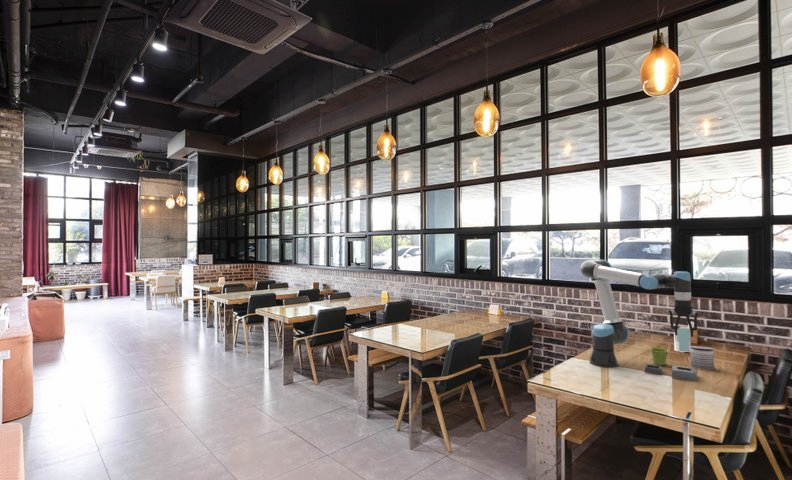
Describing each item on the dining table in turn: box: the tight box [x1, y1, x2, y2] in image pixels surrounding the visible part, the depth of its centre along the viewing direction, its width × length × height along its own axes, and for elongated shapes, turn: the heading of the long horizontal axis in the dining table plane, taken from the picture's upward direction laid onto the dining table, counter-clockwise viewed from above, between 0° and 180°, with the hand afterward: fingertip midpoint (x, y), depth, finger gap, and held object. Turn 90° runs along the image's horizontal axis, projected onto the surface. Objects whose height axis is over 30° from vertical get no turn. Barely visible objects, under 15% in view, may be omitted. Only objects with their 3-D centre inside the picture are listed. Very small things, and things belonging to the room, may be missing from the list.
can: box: [689, 345, 715, 371], centre depth 240 cm, size 11×11×12 cm
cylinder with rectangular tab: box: [673, 331, 691, 353], centre depth 276 cm, size 9×9×12 cm
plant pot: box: [649, 347, 669, 366], centre depth 246 cm, size 9×9×9 cm
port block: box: [671, 365, 698, 382], centre depth 223 cm, size 11×11×4 cm
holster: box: [644, 363, 663, 376], centre depth 231 cm, size 8×8×3 cm
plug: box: [678, 325, 690, 353], centre depth 223 cm, size 4×4×13 cm
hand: (684, 341), depth 223 cm, fingers closed on plug, 4 cm apart
